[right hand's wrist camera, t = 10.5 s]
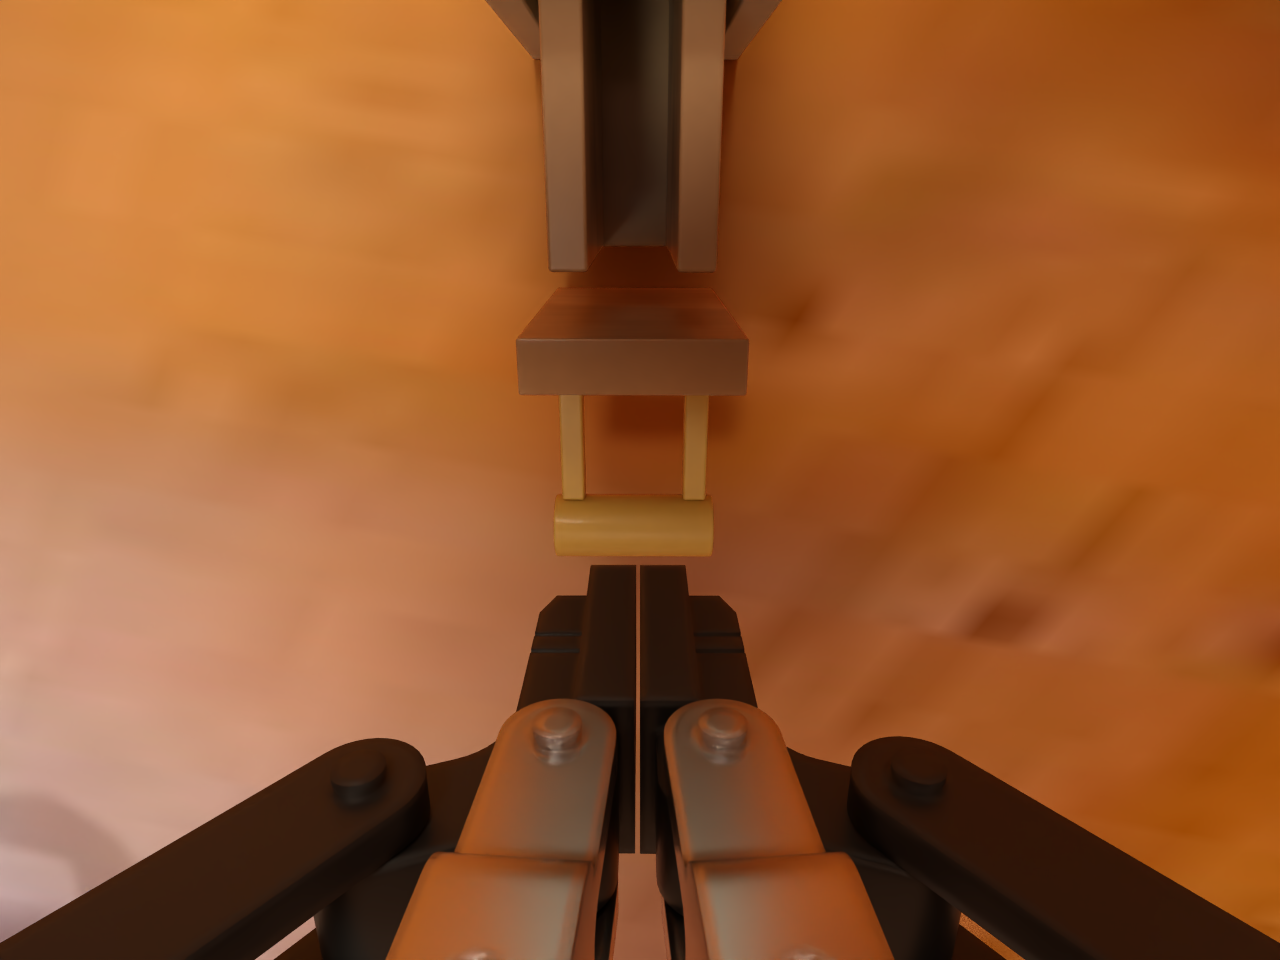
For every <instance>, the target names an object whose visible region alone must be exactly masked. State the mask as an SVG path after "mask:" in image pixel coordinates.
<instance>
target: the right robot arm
mask: <svg viewBox="0 0 1280 960" xmlns="http://www.w3.org/2000/svg"><path fill="white" fill-rule="evenodd" d="M635 775H636V565H591V568H590V575H589V583H588V590H587V596H556V597H555V598H554V599H553V600H552V601H551V602H550V603H549V604H548V605H547V606H546V607H545V608H544V609H543V610H542V611H541V612H540V614H539V618H538V622H537V627H536V631H535V636H534V639H533V643H532V648H531V653H530V656H529V660H528V665H527V669H526V673H525V677H524V681H523V686H522V690H521V694H520V698H519V703H518V707H517V711H516V713H514V714H513V715H512V716H511V717H510V718H508V719H507V721H506V722H505V723H504V724H503V726H502V728H501V730H500V732H499V734H498V737H497V740H496V741H495V742H494V743H492V744H491V745H489V746H488V747H486V748H484V749H482V750H480V751H478V752H476V753H473V754H471V755H468V756H465V757H462V758H458V759H454V760H450V761H446V762H441V763H437V764H433V765H428V766H426V765H425V761H424V758H423V756H422V755H421V754H420V752H419V751H418V750H417V749H415V748H414V747H413V746H411V745H409V744H407V743H405V742H402V741H399V740H395V739H388V738H373V739H364V740H359V741H354V742H351V743H347V744H344V745H342V746H339V747H337V748H334V749H332V750H331V751H329V752H327V753H325V754H323V755H321V756H320V757H318V758H316V759H314V760H313V761H311V762H309V763H308V764H306V765H304V766H302V767H301V768H299V769H297V770H296V771H294V772H292V773H291V774H289V775H287V776H285V777H284V778H282V779H280V780H279V781H277V782H275V783H273V784H272V785H270V786H268V787H267V788H265V789H263V790H261V791H260V792H258V793H256V794H255V795H253V796H251V797H249V798H248V799H246V800H244V801H243V802H241V803H239V804H237V805H236V806H234V807H232V808H231V809H229V810H227V811H225V812H224V813H222V814H220V815H219V816H217V817H215V818H214V819H212V820H210V821H208V822H207V823H205V824H203V825H202V826H200V827H198V828H196V829H195V830H193V831H191V832H190V833H188V834H186V835H184V836H183V837H181V838H179V839H178V840H176V841H174V842H172V843H171V844H169V845H167V846H166V847H164V848H162V849H160V850H159V851H157V852H155V853H154V854H152V855H150V856H148V857H147V858H145V859H143V860H142V861H140V862H138V863H137V864H135V865H133V866H131V867H130V868H128V869H126V870H125V871H123V872H121V873H119V874H118V875H116V876H114V877H113V878H111V879H109V880H107V881H106V882H104V883H102V884H101V885H99V886H97V887H95V888H94V889H92V890H90V891H89V892H87V893H85V894H83V895H82V896H80V897H78V898H77V899H75V900H73V901H71V902H70V903H68V904H66V905H65V906H63V907H61V908H60V909H58V910H56V911H54V912H53V913H51V914H49V915H48V916H46V917H44V918H42V919H41V920H39V921H37V922H36V923H34V924H32V925H30V926H29V927H27V928H25V929H24V930H22V931H20V932H18V933H17V934H15V935H13V936H12V937H10V938H8V939H6V940H5V941H3V942H1V943H0V960H255V959H256V958H258V957H259V956H260V955H262V954H263V953H264V952H266V951H267V950H268V949H270V948H271V947H272V946H274V945H275V944H276V943H278V942H279V941H280V940H282V939H283V938H284V937H286V936H287V935H288V934H290V933H291V932H292V931H294V930H295V929H297V928H298V927H299V926H301V925H302V924H303V923H305V922H306V921H307V920H309V919H310V918H311V917H313V916H314V921H315V926H316V928H315V929H314V930H312V931H311V932H310V933H308V934H307V935H306V936H304V937H303V938H302V939H300V940H299V941H298V942H296V943H295V944H294V945H292V946H291V947H290V948H289V949H287V950H286V951H285V952H283V953H282V954H281V955H279V956H278V957H277V958H275V959H274V960H613V955H614V946H615V937H616V929H617V920H618V864H619V853H635ZM640 854H656V877H657V884H658V887H659V890H660V893H661V895H662V920H663V929H664V937H665V946H666V955H667V960H1006V959H1005V958H1003V957H1002V956H1001V955H999V954H998V953H997V952H995V951H994V950H993V949H991V948H990V947H989V946H988V945H986V944H985V943H984V942H982V941H981V940H980V939H978V938H977V937H976V936H974V935H973V934H972V933H970V932H969V931H968V930H966V929H965V928H964V927H962V926H961V925H960V924H959V921H960V916H961V912H962V913H963V914H965V915H966V916H967V917H969V918H970V919H971V920H973V921H974V922H975V923H977V924H978V925H979V926H981V927H982V928H983V929H985V930H986V931H987V932H989V933H990V934H992V935H993V936H994V937H996V938H997V939H998V940H1000V941H1001V942H1002V943H1004V944H1005V945H1006V946H1008V947H1009V948H1010V949H1012V950H1013V951H1014V952H1016V953H1017V954H1018V955H1020V956H1021V957H1022V958H1024V959H1025V960H1280V943H1279V942H1277V941H1275V940H1274V939H1272V938H1270V937H1268V936H1267V935H1265V934H1263V933H1262V932H1260V931H1258V930H1256V929H1255V928H1253V927H1251V926H1250V925H1248V924H1246V923H1244V922H1243V921H1241V920H1239V919H1238V918H1236V917H1234V916H1232V915H1231V914H1229V913H1227V912H1226V911H1224V910H1222V909H1220V908H1219V907H1217V906H1215V905H1214V904H1212V903H1210V902H1208V901H1207V900H1205V899H1203V898H1202V897H1200V896H1198V895H1197V894H1195V893H1193V892H1191V891H1190V890H1188V889H1186V888H1185V887H1183V886H1181V885H1179V884H1178V883H1176V882H1174V881H1173V880H1171V879H1169V878H1167V877H1166V876H1164V875H1162V874H1161V873H1159V872H1157V871H1155V870H1154V869H1152V868H1150V867H1149V866H1147V865H1145V864H1143V863H1142V862H1140V861H1138V860H1137V859H1135V858H1133V857H1131V856H1130V855H1128V854H1126V853H1125V852H1123V851H1121V850H1120V849H1118V848H1116V847H1114V846H1113V845H1111V844H1109V843H1108V842H1106V841H1104V840H1102V839H1101V838H1099V837H1097V836H1096V835H1094V834H1092V833H1090V832H1089V831H1087V830H1085V829H1084V828H1082V827H1080V826H1078V825H1077V824H1075V823H1073V822H1072V821H1070V820H1068V819H1066V818H1065V817H1063V816H1061V815H1060V814H1058V813H1056V812H1054V811H1053V810H1051V809H1049V808H1048V807H1046V806H1044V805H1043V804H1041V803H1039V802H1037V801H1036V800H1034V799H1032V798H1031V797H1029V796H1027V795H1025V794H1024V793H1022V792H1020V791H1019V790H1017V789H1015V788H1013V787H1012V786H1010V785H1008V784H1007V783H1005V782H1003V781H1001V780H1000V779H998V778H996V777H995V776H993V775H991V774H989V773H988V772H986V771H984V770H983V769H981V768H979V767H977V766H976V765H974V764H972V763H971V762H969V761H967V760H966V759H964V758H962V757H960V756H959V755H957V754H955V753H954V752H952V751H950V750H948V749H946V748H944V747H942V746H940V745H937V744H935V743H932V742H929V741H925V740H922V739H917V738H911V737H901V736H896V737H884V738H879V739H876V740H873V741H870V742H868V743H866V744H865V745H863V746H862V747H861V748H860V749H858V751H857V752H856V753H855V755H854V757H853V760H852V764H851V767H849V766H845V765H840V764H836V763H832V762H828V761H823V760H819V759H815V758H812V757H808V756H805V755H803V754H800V753H798V752H796V751H794V750H792V749H790V748H788V747H786V745H785V742H784V740H783V737H782V734H781V732H780V730H779V728H778V726H777V724H776V723H775V722H774V721H773V719H772V718H770V717H769V716H768V715H767V714H766V713H764V712H763V711H761V710H760V709H758V707H757V703H756V698H755V694H754V690H753V685H752V681H751V676H750V672H749V668H748V663H747V659H746V654H745V653H744V645H743V641H742V637H741V632H740V628H739V623H738V619H737V615H736V612H735V611H734V610H733V609H732V608H731V607H730V606H729V605H728V604H727V603H726V602H725V601H724V600H723V599H722V598H721V597H720V596H689V592H688V584H687V576H686V568H685V565H640Z"/></svg>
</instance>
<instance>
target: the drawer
mask: <svg viewBox="0 0 1280 960" xmlns="http://www.w3.org/2000/svg"><path fill="white" fill-rule="evenodd" d="M538 6H539V32H540V59H541V85H542V111H543V138H544V164H545V190H546V217H547V243H548V268H549V270H550V271H551V272H585V271H587V270H588V268H589V267H590V265H591V264H592V262H593V261H594V259H595V258H596V256H597V254H598V253H599V251H600V250H601V248H602V247H603V246H667V248H668V250H669V252H670V254H671V257H672V259H673V261H674V263H675V265H676V267H677V270H678V271H679V272H715V271H716V269H717V247H718V219H719V191H720V163H721V135H722V107H723V79H724V51H725V23H726V0H538ZM516 351H517V370H518V388H519V394H520V395H559V419H560V448H561V476H562V494H558V495H557V496H556V499H555V506H554V547H555V553H556V555H557V556H711V555H712V551H713V541H714V512H713V501H712V497H711V495H706V467H707V438H708V409H709V395H739V396H744V395H746V393H747V374H748V355H749V339H748V338H747V336H746V335H745V334H744V332H743V331H742V329H741V328H740V327H739V325H738V324H737V323H736V321H735V320H734V318H733V317H732V316H731V314H730V313H729V311H728V310H727V309H726V307H725V306H724V304H723V303H722V302H721V300H720V299H719V297H718V296H717V295H716V293H715V292H714V291H713V289H712V288H558V289H557V290H556V291H555V293H554V294H553V295H552V296H551V297H550V299H549V300H548V301H547V302H546V304H545V305H544V306H543V307H542V308H541V310H540V311H539V312H538V313H537V315H536V316H535V317H534V318H533V319H532V321H531V322H530V323H529V324H528V325H527V327H526V328H525V329H524V330H523V332H522V333H521V334H520V335H519V336H518V338H517V339H516ZM584 395H684V425H683V469H682V495H663V494H586V471H585V429H584Z"/></svg>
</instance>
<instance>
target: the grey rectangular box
mask: <svg viewBox="0 0 1280 960" xmlns="http://www.w3.org/2000/svg"><path fill="white" fill-rule="evenodd" d="M781 1H782V0H726V23H725V51H724V60H736V59H738V58H739V56H740V55H741V54H742V52H743V51H744V50H745V48H746V47H747V46H748V44H749V43H750V42H751V40H752V39H753V38H754V36H755V35H756V34H757V33H758V31H759V30H760V29H761V27H762V26H763V25H764V23H765V22H766V21H767V19H768V18H769V17H770V15H771V14H772V13H773V11H774V10H775V9H776V7H777V6H778V5H779V3H780V2H781ZM486 2H487V3H488V4H489V5H490V7H491V8H492V9H493V10H494V11H495V13H496V14H497V15H498V16H499V17H500V19H501V20H502V21H503V22H504V24H505V25H506V26H507V27H508V28H509V30H510V31H511V32H512V33H513V35H514V36H515V37H516V38H517V39H518V41H519V42H520V43H521V44H522V45H523V47H524V48H525V49H526V50H527V52H528V53H529V54H530V55H531V57H532V58H533V59H540V32H539V6H538V0H486Z"/></svg>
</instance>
